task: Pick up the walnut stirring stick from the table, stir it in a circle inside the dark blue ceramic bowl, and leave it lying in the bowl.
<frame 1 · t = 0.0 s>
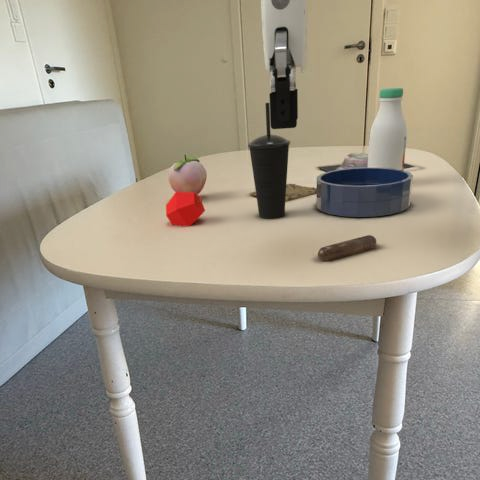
hand: (285, 124, 59), 18 cm above the table, tool pointing down, fingers open, 9 cm apart
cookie: (285, 194, 102), on the table
decorative fruit: (189, 200, 104), on the table
stick: (347, 255, 65), on the table
milk bottle: (383, 188, 101), on the table
bowl: (361, 207, 88), on the table
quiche: (367, 170, 121), on the table
red faceted polyhedron: (186, 225, 86), on the table
drinking cup: (271, 218, 86), on the table
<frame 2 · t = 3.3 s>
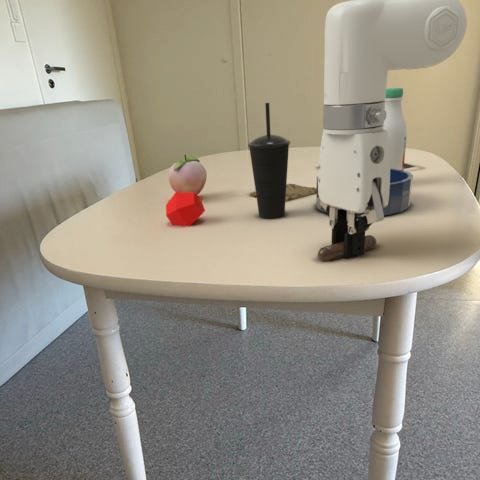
hand: (347, 254, 65), 0 cm above the table, tool pointing down, fingers closed on stick, 2 cm apart
stick: (347, 255, 65), on the table, touching gripper
everything else where it was.
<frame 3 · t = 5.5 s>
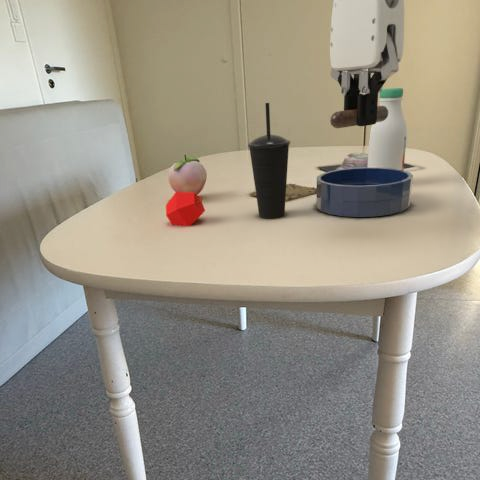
hand: (359, 123, 65), 17 cm above the table, tool pointing down, fingers closed on stick
stick: (359, 124, 65), point 17 cm above the table, touching gripper
everything else where it was.
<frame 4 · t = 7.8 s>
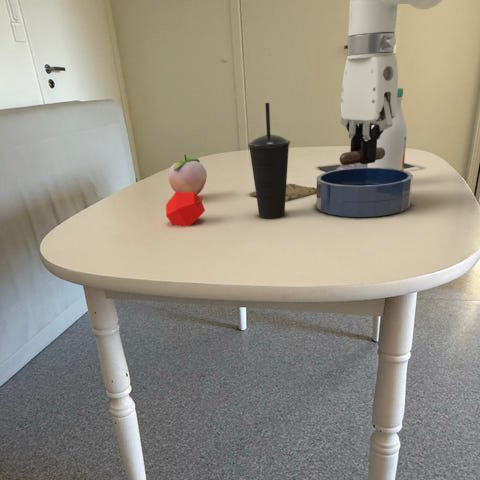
hand: (362, 161, 84), 9 cm above the table, tool pointing down, fingers closed on stick
stick: (362, 162, 84), point 9 cm above the table, touching gripper
everything else where it was.
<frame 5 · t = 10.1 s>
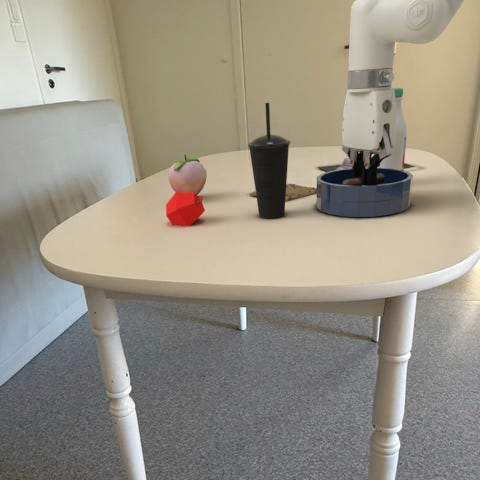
hand: (363, 187, 87), 4 cm above the table, tool pointing down, fingers closed on stick, 2 cm apart
stick: (363, 188, 87), point 3 cm above the table, touching gripper
everything else where it was.
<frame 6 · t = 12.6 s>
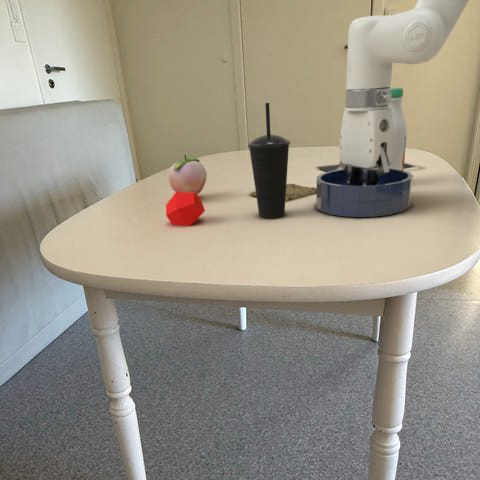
hand: (360, 203, 87), 1 cm above the table, tool pointing down, fingers closed
stick: (360, 204, 87), point 1 cm above the table, touching bowl
everything else where it was.
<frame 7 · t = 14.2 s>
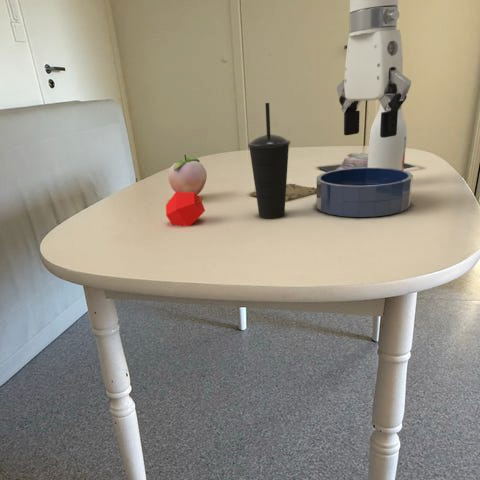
hand: (369, 135, 81), 13 cm above the table, tool pointing down, fingers open, 9 cm apart
stick: (351, 190, 89), point 3 cm above the table, tilted 165°, touching bowl
everything else where it was.
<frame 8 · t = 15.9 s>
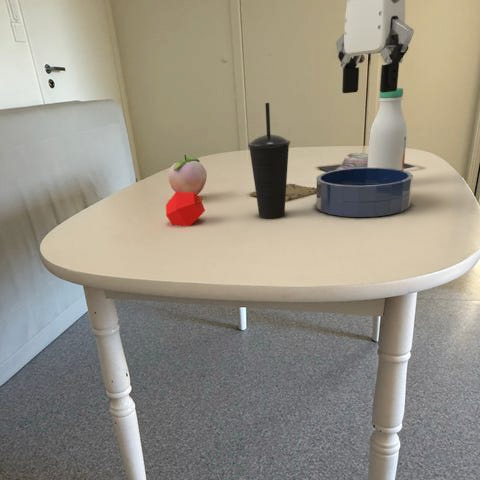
hand: (368, 92, 78), 20 cm above the table, tool pointing down, fingers open, 9 cm apart
nothing on the table moved.
at the end: stick inside the target area in the bowl (3.0 cm from its centre), point 2.8 cm above the bowl's base; the gripper is holding nothing; stick moved 29.1 cm from its start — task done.
